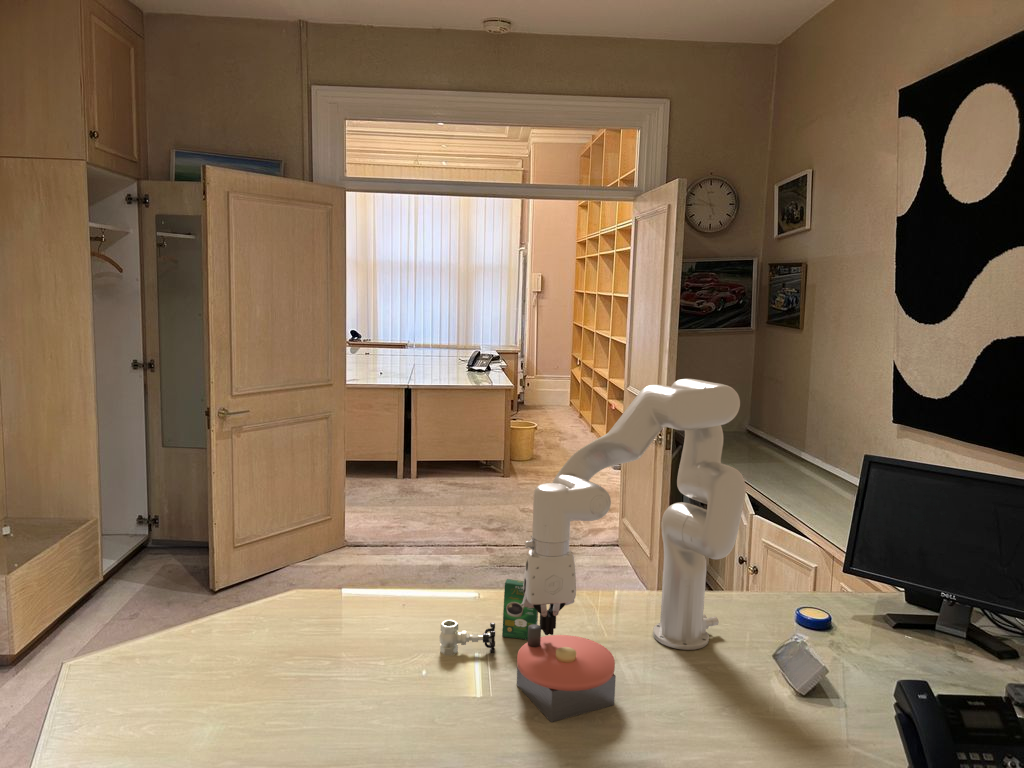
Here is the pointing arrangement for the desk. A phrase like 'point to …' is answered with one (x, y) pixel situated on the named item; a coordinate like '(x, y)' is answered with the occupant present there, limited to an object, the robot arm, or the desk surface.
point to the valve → (462, 637)
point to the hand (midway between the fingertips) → (547, 631)
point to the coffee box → (516, 611)
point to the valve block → (567, 698)
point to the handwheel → (564, 661)
